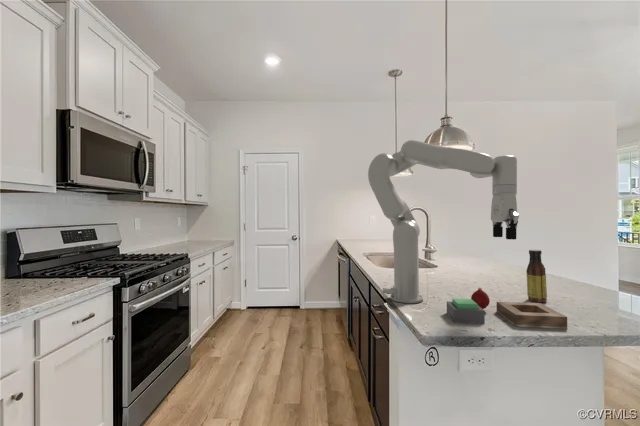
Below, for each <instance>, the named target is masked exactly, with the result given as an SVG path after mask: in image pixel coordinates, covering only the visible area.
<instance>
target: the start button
mask: <svg viewBox="0 0 640 426" xmlns="http://www.w3.org/2000/svg"><path fill="white" fill-rule="evenodd" d="M451 299H452V301H451V302H452V304H453V305H454V306H455V308H456V309H478V304H477V303H475V302H474V301H473V300H472V299H471V298H454V297H453V298H451Z"/></svg>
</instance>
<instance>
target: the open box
mask: <svg viewBox="0 0 640 426" xmlns="http://www.w3.org/2000/svg"><path fill="white" fill-rule="evenodd" d="M496 313H498V314H499V315H500V316H502V317H503V318H504V319H506V320H507V321H509V323H511V324H512V323H513V325H514V326H515V327H520V328H521V327H522V328H542V329H545V328H546V329H563V330H564V329H567V330H568V316H566V315H565V314H563V313H560V312H559V311H556V310H554V309H553V308H552V307H549V306H548V305H547V306H546V305H545V304H543V303H542V302H523V301H522V302H520V301H519V302H517V301H512V302H511V301H496Z"/></svg>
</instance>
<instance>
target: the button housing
mask: <svg viewBox="0 0 640 426" xmlns="http://www.w3.org/2000/svg"><path fill="white" fill-rule="evenodd" d="M446 314H447V315H448V316H449V317H450V318H451V320H452V321H453V323H466V324H467V323H468V324H485V321H486V320H485V318H486V317H485V309H482V308H481V307H479V306H478V309H456V308H455V306H454V305H453V304H452V301H448V300H447V301H446Z"/></svg>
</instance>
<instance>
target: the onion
mask: <svg viewBox="0 0 640 426" xmlns="http://www.w3.org/2000/svg"><path fill="white" fill-rule="evenodd" d="M470 299H472V300H473V301H474V302H475V303H477V304H478V306H479V307H481V308H482V309H483V310H485V309H486V308H487V307H488V306H489V305H490V302H491V301H490V297H489V295H488V294H487V292H486V291H484V290H483V289H482V287H478V289H477V290H475V291H474V292H473V293H472V294H471V296H470Z"/></svg>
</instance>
